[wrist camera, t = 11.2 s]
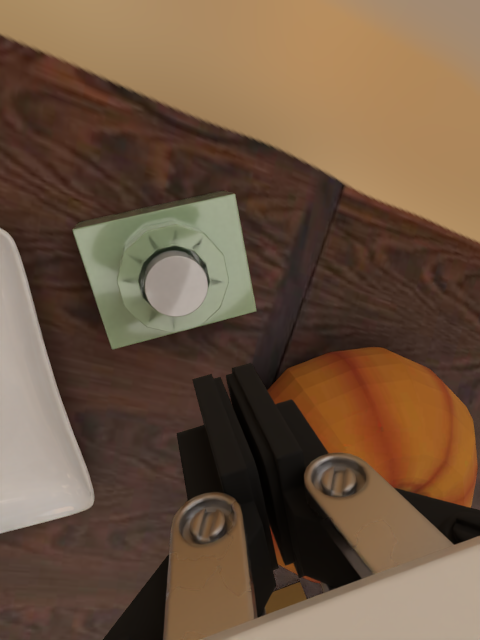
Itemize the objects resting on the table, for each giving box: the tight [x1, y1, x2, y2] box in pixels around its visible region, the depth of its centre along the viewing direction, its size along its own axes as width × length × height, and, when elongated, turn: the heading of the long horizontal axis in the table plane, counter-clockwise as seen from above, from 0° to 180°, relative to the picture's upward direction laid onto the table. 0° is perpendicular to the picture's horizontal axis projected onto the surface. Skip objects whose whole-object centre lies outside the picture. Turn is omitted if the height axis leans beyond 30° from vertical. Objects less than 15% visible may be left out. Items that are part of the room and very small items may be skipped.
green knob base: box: [72, 191, 256, 349], centre depth 29 cm, size 10×8×5 cm
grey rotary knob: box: [144, 250, 208, 317], centre depth 26 cm, size 4×4×2 cm
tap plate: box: [265, 582, 307, 614], centre depth 44 cm, size 10×9×3 cm
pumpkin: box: [267, 347, 478, 583], centre depth 32 cm, size 19×19×15 cm
